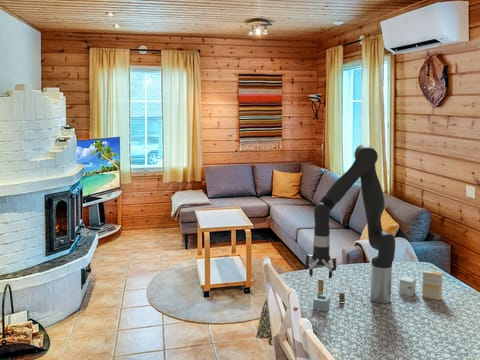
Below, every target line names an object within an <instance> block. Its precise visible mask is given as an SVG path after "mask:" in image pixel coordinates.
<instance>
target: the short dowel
mask: <svg viewBox="0 0 480 360" xmlns="http://www.w3.org/2000/svg"><path fill="white" fill-rule="evenodd" d="M345 294H346V293H345V292H342V291H341V292H339V294H338V295H339V296H338V297H339V299H338V300H339V301H338V303H339V302H344V303H345Z"/></svg>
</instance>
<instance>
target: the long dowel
mask: <svg viewBox="0 0 480 360" xmlns="http://www.w3.org/2000/svg"><path fill="white" fill-rule="evenodd" d="M317 282H318V283H317V284H318V285H317V294H320V295H324V279H323V278H318V281H317Z"/></svg>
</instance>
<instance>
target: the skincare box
mask: <svg viewBox="0 0 480 360" xmlns="http://www.w3.org/2000/svg"><path fill="white" fill-rule="evenodd" d="M416 285H417V279H416V278H413V277H410V276H402V277H401V278H400V279H399V288H398V289H399V290H398V293H399V294H400V295H404V296H407V297H413V295H414V294H415V293H416V288H417V287H416Z"/></svg>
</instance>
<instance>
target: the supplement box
mask: <svg viewBox="0 0 480 360" xmlns="http://www.w3.org/2000/svg"><path fill="white" fill-rule="evenodd" d="M443 272H444V271H438V270H433V269H425V268H424V270H423V271H422V290H421V291H422V292H421V298H422V299H429V300H435V301H441V299H442V294H443V292H442V291H443Z"/></svg>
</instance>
